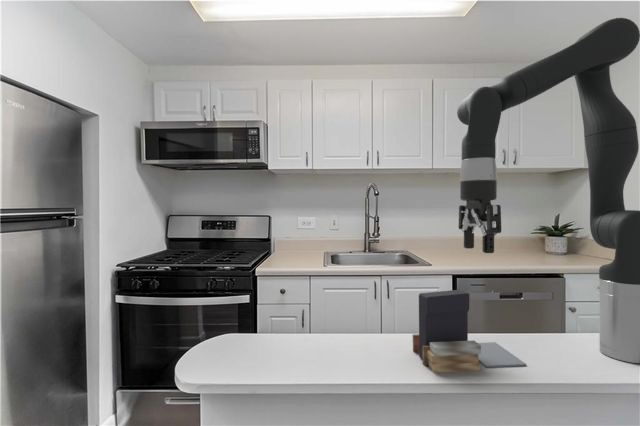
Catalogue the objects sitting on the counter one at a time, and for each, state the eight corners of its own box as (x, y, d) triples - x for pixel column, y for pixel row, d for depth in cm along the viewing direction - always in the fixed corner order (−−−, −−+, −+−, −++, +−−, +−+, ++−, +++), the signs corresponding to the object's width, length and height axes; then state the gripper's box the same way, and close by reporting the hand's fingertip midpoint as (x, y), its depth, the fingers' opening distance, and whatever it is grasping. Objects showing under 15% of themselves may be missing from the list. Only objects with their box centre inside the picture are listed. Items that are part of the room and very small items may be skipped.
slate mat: (495, 343, 86) (495, 342, 86) (526, 365, 74) (526, 364, 74) (460, 345, 85) (460, 343, 85) (486, 367, 73) (486, 365, 73)
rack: (460, 348, 83) (460, 332, 83) (476, 363, 75) (476, 345, 75) (412, 350, 82) (412, 334, 82) (423, 365, 75) (423, 347, 75)
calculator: (457, 350, 82) (457, 288, 82) (469, 358, 78) (469, 293, 78) (417, 356, 79) (416, 292, 79) (427, 364, 75) (427, 297, 75)
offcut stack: (474, 364, 75) (474, 340, 75) (481, 370, 72) (480, 345, 72) (427, 366, 74) (426, 342, 74) (432, 373, 72) (431, 347, 71)
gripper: (513, 176, 71) (513, 254, 71) (477, 181, 85) (477, 246, 85) (478, 176, 70) (478, 255, 70) (448, 181, 84) (448, 247, 85)
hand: (477, 250), depth 78 cm, fingers open, 8 cm apart
